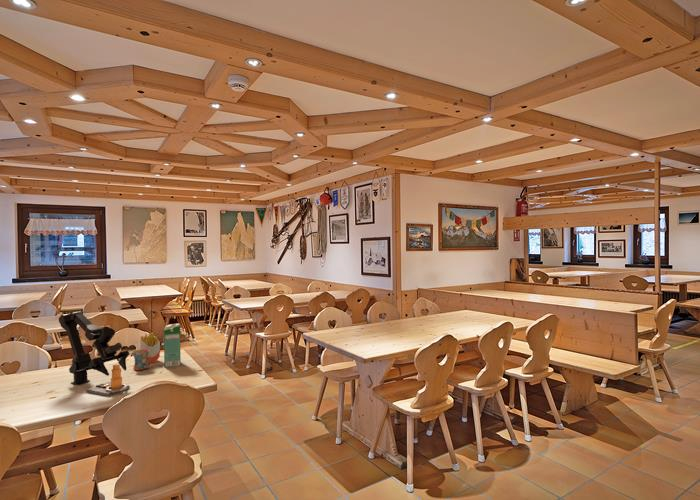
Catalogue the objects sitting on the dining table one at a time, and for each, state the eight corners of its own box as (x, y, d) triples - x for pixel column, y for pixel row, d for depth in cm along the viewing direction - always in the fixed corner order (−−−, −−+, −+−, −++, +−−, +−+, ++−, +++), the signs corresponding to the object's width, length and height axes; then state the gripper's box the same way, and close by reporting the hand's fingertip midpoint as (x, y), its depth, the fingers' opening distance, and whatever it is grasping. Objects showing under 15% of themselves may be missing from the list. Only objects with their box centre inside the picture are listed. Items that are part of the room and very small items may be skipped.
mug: (128, 370, 245) (128, 352, 245) (141, 365, 254) (140, 348, 253) (144, 372, 241) (144, 354, 241) (156, 367, 250) (156, 350, 250)
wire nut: (110, 388, 210) (109, 365, 210) (121, 386, 213) (120, 363, 213) (111, 391, 206) (111, 367, 206) (122, 389, 209) (122, 365, 209)
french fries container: (160, 360, 265) (159, 332, 265) (145, 365, 255) (145, 336, 255) (155, 359, 267) (154, 332, 267) (140, 364, 257) (140, 335, 257)
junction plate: (86, 392, 209) (86, 387, 209) (107, 384, 220) (107, 379, 220) (112, 397, 202) (112, 392, 202) (133, 389, 214) (133, 384, 214)
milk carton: (164, 363, 258) (163, 324, 257) (179, 361, 262) (179, 322, 261) (164, 367, 250) (163, 326, 249) (180, 365, 254) (180, 325, 253)
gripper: (91, 342, 203) (106, 368, 198) (127, 335, 219) (141, 358, 215) (82, 356, 206) (96, 381, 202) (117, 348, 223) (131, 371, 218)
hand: (117, 372), depth 209 cm, fingers open, 9 cm apart
